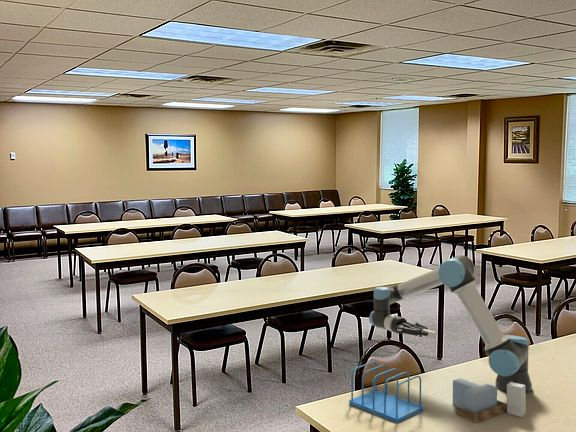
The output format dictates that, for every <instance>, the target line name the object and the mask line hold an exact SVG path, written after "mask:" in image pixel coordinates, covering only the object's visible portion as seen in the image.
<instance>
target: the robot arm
mask: <svg viewBox="0 0 576 432" xmlns="http://www.w3.org/2000/svg"><path fill="white" fill-rule="evenodd" d="M474 273H475V264H474V262H473V261H472V260H471V258H470V257H468V256H465V255H456V256H454V257H450V258H447V259H446V260H445V261H443V262H442V263H441V264H440V265H439V267H438V268H435V269H433V270H431V271H429V272H426V273H423V274H420V275H418V276H416V277H413V278H410V279H408V280H406V281H403V282H401V283H398V284H396V285H393V286H391V287H387V286H378V287H377V286H376V287H374V290H373V295H372V296H373V310H372V311H371V312H370V314H369V316H368V320H369V323H370V325H372V326H374V327H376V328H379V329H382V330H386V331H390V333H397V334H399V335H402V334H406V335H411V336H415V337H417V336H419V338H422V337H423V336H424V337H426V338H430V339H433V340H434V339H437V332H436V331H434V330H430V329H428V327H427V326H425V325H422V324H420V323H418V322H415V323H412V322H409V321H407V319H406V318H405V317H401V316H398V315H394V314H391V312H390V309H391V307H390V306H391V305H392V304H395V303H398V302H399V301H402V300H405V299H407V298H410V297H412V296H415V295H417V294H420V293H422V292H426V291H428V290H432V289H434V288H436V287H439V286H441V285H445V286H446V287H448V289H449V290H450V292H451V293H452V294H454V295H456V296H457V297H458V298H459V301H460V302H461V305H462V306H463V307H464V309H465V311H466V313H467V314H468V316H469V318H470V319H471V320H470V321H472V323H473V324H474V326H475V329H476V330H477V332H478V334H479V336H480V337H481V339H482V340H483V342H484V344H485V346H484V351H485V353H486V354H487V357H488V365H489V368H490V369H491V370H492V371H493V372H494V374H497V376H496V378H495V387H497V390H498V389H499V390H500V391H503V392H506V393H507V384H508V383H510V382H514V383H518V384H523V385H525V392H526V393H525V394H527V393H530V392H532V390H533V383H532V381H531V378H530V374H529V352H530V351H529V347H530V345H529V344H530V343H529V340H528V338H526V337H523V336H519V335H510V334H504V332H503V331H502V329H501V328H500V326H499V325H498V323H497V321H496V319H495V318H494V316H493V314H492V313H491V311H490V309H489V307H488V306H487V304H486V302H485V300H484V298H483V297H482V296H481V294H480V292H479V290H478V288H477V287H476V281H477V279H476V278H475V277H474Z"/></svg>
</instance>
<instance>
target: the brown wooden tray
mask: <svg viewBox="0 0 576 432" xmlns="http://www.w3.org/2000/svg"><path fill="white" fill-rule="evenodd" d="M504 413H507V402H504V401H500V400H498V399H497V407H494V408H491V409H488V410H486V411H483V412H480V413H477V414H475V413H473V412H470V411H468V410H466V409H463V408H461V407H459V406H457V405H456V406H455V415H456V416H460V417H461V418H464V419H466V420H468V421H470V422H471V421H472V422H474V423H475V424H478V423H480V422H484V421H485V420H488V419H491V418H493V417H496V416H499V415H502V414H504Z"/></svg>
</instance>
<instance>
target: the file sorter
mask: <svg viewBox="0 0 576 432" xmlns="http://www.w3.org/2000/svg"><path fill="white" fill-rule="evenodd" d="M372 364H374V365H375V366H374V367H373V368H370V369H367V370H365V371H364V372H363V373H362V376H361V395H357V396H356V397H354V373H355V371H356V370H357V369H358V370H359V369H360V368H363V367H366V366H369V365H372ZM382 367H385V371H383V372H380V373H378V369H380V368H382ZM373 371H375V372H374V373H375V374H374V375H375V376H374V377H373V380H372V390H370V391H368V392H365V393H364V389H365V388H364V379H365V375H366V374H367V373H370V372H373ZM392 371H395V373H396V375H394V376H391V377H389V378H388V373H389V372H392ZM384 374H385V382H384V385H383V386H384V387H383V389H384V391H382V390H378V388H377V387H378V383H377V382H378V377H380V376H382V375H384ZM404 374H405V375H406V376H407V379H405V380H402V381H400V383H399V377H400V376H402V375H404ZM350 376H351V379H350V380H351V383H350V384H351V385H350V386H351V391H350V392H351V393H350V394H351V397H350V399H349V400H348V402H349V403H348V404H349V405H352V406H353V407H356V408H358V409H361V410H365V411H367V412H369V413H372V414H373V415H376V416H379V417H382V418H384V419H387V420H389V421H392V422H394V423H400V422H402V421H404V420H406V419H409V418H410V417H412V416H415V415H417V414H418V413H420V412H422V411H424V406H423V405H422V378H421V376H420V375H415V376H412V377H410V373H409V372H407V371H404V372H401V373H399V371H398V369H397V368H395V367H394V368H391V369H388V366H387V365H386V364H382V365H381V364H380V365H378V364H377V363H376V362H375V361H370V362H367V363H365V364H363V365H359V366H356V367H354V369H352V371H351V375H350ZM395 378H396V390H395V395H393V394H390V393H388V382H389V381H390V380H392V379H395ZM416 378H419V397H418V398H419V400H418V401H419V404H417V403H415V402H414V401H413V402H412V401H410V381H412V380H414V379H416ZM405 383H407V399H404V398H401V397H399V389H400V386H401V385H402V384H405Z"/></svg>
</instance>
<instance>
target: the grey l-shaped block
mask: <svg viewBox="0 0 576 432" xmlns="http://www.w3.org/2000/svg"><path fill="white" fill-rule="evenodd" d="M497 400H498V388H497V387H496V385H495V386H494V385H492V384H489V383H485V384H481V385H480V384H478V383H475V382H473V381H470V380H468V379H465V378H462V377H461V378H456V379H453V380H452V404H453V405H455V406H456V407H457V406H458V407H461V408H463V409H466V410H468V411H470V412H473V413H475V414H477V413H480V412H483V411H486V410H488V409H491V408H494V407H497Z"/></svg>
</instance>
